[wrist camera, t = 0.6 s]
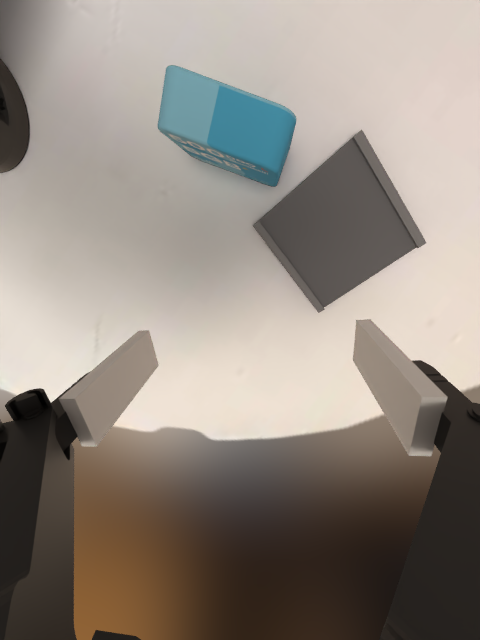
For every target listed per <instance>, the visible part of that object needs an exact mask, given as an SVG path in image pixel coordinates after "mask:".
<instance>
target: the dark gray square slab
mask: <svg viewBox="0 0 480 640" xmlns="http://www.w3.org/2000/svg"><path fill="white" fill-rule="evenodd" d="M253 227H254V228H255V229H256V231H257V232H258V233H259V235H260V236H261V237H262V239H263V240H264V241H265V243H266V244H267V245H268V246H269V248H270V249H271V250H272V252H273V253H274V254H275V256H276V257H277V258H278V260H279V261H280V262H281V264H282V265H283V266H284V268H285V269H286V270H287V272H288V273H289V274H290V276H291V277H292V278H293V280H294V281H295V282H296V284H297V285H298V286H299V287H300V289H301V290H302V291H303V293H304V294H305V295H306V297H307V298H308V299H309V301H310V302H311V303H312V305H313V306H314V307H315V309H316V310H317V311H318V313H319V312H321V311H322V310H324V307H326V306H327V305H329V304H330V303H332V302H333V301H335V300H336V299H338V298H339V297H341V296H343V295H344V294H346V293H347V292H349V291H350V290H352V289H353V288H355V287H356V286H358V285H359V284H361V283H362V282H364V281H366V280H367V279H369V278H370V277H372V276H373V275H375V274H376V273H378V272H379V271H381V270H382V269H384V268H385V267H387V266H388V265H390V264H392V263H393V262H395V261H396V260H398V259H399V258H401V257H402V256H404V255H405V254H407V253H408V252H410V251H411V250H413V249H415V248H419V247H421V246H422V245H424V244H425V243H426V241H425V239H424V238H423V236H422V234H421V232H420V231H419V229H418V227H417V225H416V224H415V222H414V220H413V218H412V217H411V215H410V213H409V211H408V210H407V208H406V206H405V204H404V203H403V201H402V199H401V197H400V196H399V194H398V192H397V190H396V189H395V187H394V185H393V183H392V182H391V180H390V178H389V176H388V175H387V173H386V171H385V169H384V168H383V166H382V164H381V162H380V161H379V159H378V157H377V155H376V154H375V152H374V150H373V148H372V147H371V145H370V143H369V141H368V140H367V138H366V136H365V134H364V133H363V131H362V130H361V131H360V132H359V133H357V134H356V135H355V136H354V137H353V138H352V139H351V140H350V141H349V142H347V143H346V144H345V145H344V146H343V147H342V148H341V149H340V150H338V151H337V152H336V153H335V154H334V155H333V156H332V157H330V158H329V159H328V160H327V161H326V162H325V163H324V164H323V165H321V166H320V167H319V168H318V169H317V170H316V171H315V172H313V173H312V174H311V175H310V176H309V177H308V178H307V179H306V180H304V181H303V182H302V183H301V184H300V185H299V186H298V187H296V188H295V189H294V190H293V191H292V192H291V193H290V194H289V195H287V196H286V197H285V198H284V199H283V200H282V201H281V202H279V203H278V204H277V205H276V206H275V207H274V208H273V209H272V210H270V211H269V212H268V213H267V214H266V215H265V216H264V217H262V218H261V219H260V220H259V221H258V222H257V223H255V224H254V225H253Z"/></svg>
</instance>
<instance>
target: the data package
mask: <svg viewBox="0 0 480 640" xmlns="http://www.w3.org/2000/svg"><path fill="white" fill-rule="evenodd" d="M295 124H296V116H295V115H294V113H293V112H292V111H291V110H289V109H288V108H286V107H285V106H282V105H280V104H278V103H275V102H272V101H269V100H267V99H264V98H261V97H259V96H256V95H253V94H251V93H248V92H245V91H243V90H240V89H237V88H235V87H232V86H229V85H227V84H224V83H221V82H219V81H216V80H213V79H211V78H208V77H205V76H203V75H200V74H197V73H195V72H192V71H189V70H187V69H184V68H181V67H179V66H174V65H170V66H168V67H167V68H166V74H165V80H164V87H163V94H162V100H161V107H160V114H159V121H158V129H159V130H160V131H161V132H162V133H163V134H164V135H166V136H167V137H168V138H169V139H171V140H172V141H173V142H174V143H176V144H177V145H178V146H179V147H181V148H182V149H183V150H184V151H186V152H187V153H188V154H189V155H191V156H192V157H194V158H196V159H199V160H201V161H204V162H206V163H209V164H212V165H214V166H217V167H220V168H223V169H225V170H228V171H231V172H233V173H236V174H239V175H242V176H244V177H247V178H250V179H252V180H255V181H258V182H261V183H263V184H266V185H269V186H276V185H277V183H278V180H279V178H280V175H281V172H282V169H283V166H284V163H285V160H286V157H287V155H288V152H289V149H290V145H291V141H292V136H293V132H294V128H295Z"/></svg>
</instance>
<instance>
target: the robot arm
mask: <svg viewBox="0 0 480 640" xmlns="http://www.w3.org/2000/svg"><path fill="white" fill-rule="evenodd" d="M28 137H29V125H28V117H27V111H26V107H25V104H24V100H23V98H22V95H21V92H20V90H19V88H18V86H17V84H16V82H15V80H14V78H13V76H12V75H11V73H10V71H9V70H8V68H7V67H6V66H5V64H4V63H3V62H2V61H1V59H0V173H2V172H6V171H9V170H11V169H12V168H14V167H15V166H16V165H17V164H18V163H19V162H20V161H21V159H22V158H23V156H24V154H25V151H26V148H27V144H28ZM353 361H354V363H355V365H356V366H357V368H358V370H359V371H360V373H361V375H362V376H363V378H364V380H365V382H366V383H367V385H368V387H369V388H370V390H371V392H372V394H373V395H374V397H375V399H376V400H377V402H378V404H379V405H380V407H381V409H382V411H383V412H384V414H385V416H386V417H387V419H388V421H389V423H390V424H391V426H392V427H393V429H394V431H395V433H396V434H397V436H398V438H399V439H400V441H401V443H402V445H403V446H404V448H405V450H406V451H407V453H408V455H410V456H431V455H432V451H433V447H434V444H435V445H436V447H437V448H438V450H439V451H440V452H441V455H440V458H439V461H438V465H437V467H436V471H435V474H434V477H433V480H432V483H431V486H430V489H429V492H428V495H427V498H426V501H425V504H424V507H423V510H422V513H421V516H420V519H419V523H418V525H417V529H416V532H415V535H414V538H413V541H412V544H411V547H410V550H409V553H408V556H407V559H406V562H405V565H404V568H403V571H402V574H401V577H400V581H399V584H398V587H397V590H396V593H395V596H394V599H393V602H392V605H391V608H390V611H389V614H388V617H387V620H386V623H385V625H384V628H383V631H382V634H381V636H380V639H379V640H480V404H477V403H472V402H471V401H470V400H469V399H468V398H467V397H465V396H464V395H463V394H462V393H461V392H460V391H459V390H458V389H457V388H456V387H454V386H453V385H452V384H451V383H450V382H448V380H447V379H446V378H445V377H443V376H441V374H440V373H439V372H438V371H437V370H436V369H435V368H434V367H432V366H430V365H428V364H427V363H425V362H423V361H421V360H420V361H411V360H410V359H409V358H408V357H407V356H406V355H405V354H404V353H403V352H402V351H401V350H400V349H399V348H398V347H397V346H396V345H395V344H394V343H393V342H392V341H391V340H390V339H389V338H388V337H387V336H386V335H385V334H384V333H383V332H382V331H381V330H380V329H379V328H378V327H377V326H376V325H375V324H374V323H373V322H372V321H371V320H356V331H355V343H354V355H353ZM158 366H159V365H158V361H157V358H156V354H155V351H154V347H153V343H152V340H151V336H150V332H149V331H138V332H137V333H136V334H134V335H133V336H132V337H131V338H130V339H128V340H127V341H126V342H125V343H124V344H123V345H121V346H120V347H119V348H118V349H117V350H116V351H114V352H113V353H112V354H111V355H110V356H108V357H107V358H106V359H105V360H104V361H103V362H101V363H100V364H99V365H98V366H97V367H96V368H94V369H93V370H92V371H91V372H89V373H87V374H85V375H84V376H83V377H82V378H80V379H79V380H78V381H77V382H76V383H74V384H73V385H72V386H71V387H70V388H68V389H67V390H66V391H65V392H64V393H62V394H61V395H60V396H59V397H58V398H57V399H55V400H54V401H53V402H52V403H50V401H49V399H48V397H47V395H46V393H45V391H44V389H33V390H29V391H26V392H24V393H21V394H19V395H17V396H16V397H14V398H13V399H11V400H10V401H9V402H7V404H6V405H5V407H6V409H7V411H8V412H9V414H10V415H11V417H12V419H13V420H14V421H11V422H6V423H2V422H1V420H0V640H77V639H76V635H75V630H74V620H73V619H74V615H73V614H74V610H73V609H74V448H73V446H72V444H71V443H72V442H73V441H74V440H75V438H76V437H78V439H79V441H80V443H81V445H82V446H94V447H96V446H98V444H99V443H100V442H101V440H102V439H103V438H104V436H105V435H106V433H107V432H108V431H109V430H110V429H111V427H112V426H113V425H114V423H115V422H116V421H117V419H118V418H119V417H120V415H121V414H122V413H123V411H124V410H125V409H126V408H127V406H128V405H129V404H130V402H131V401H132V400H133V398H134V397H135V396H136V394H137V393H138V392H139V390H140V389H141V388H142V387H143V385H144V384H145V383H146V381H147V380H148V379H149V377H150V376H151V375H152V373H153V372H154V371H155V369H156V368H157V367H158ZM92 640H141V639H139V638H138V637H136V636H131V635H124V634H117V633H112V632H105V631H98V630H96V631H95V634H94V636H93V638H92Z"/></svg>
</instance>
